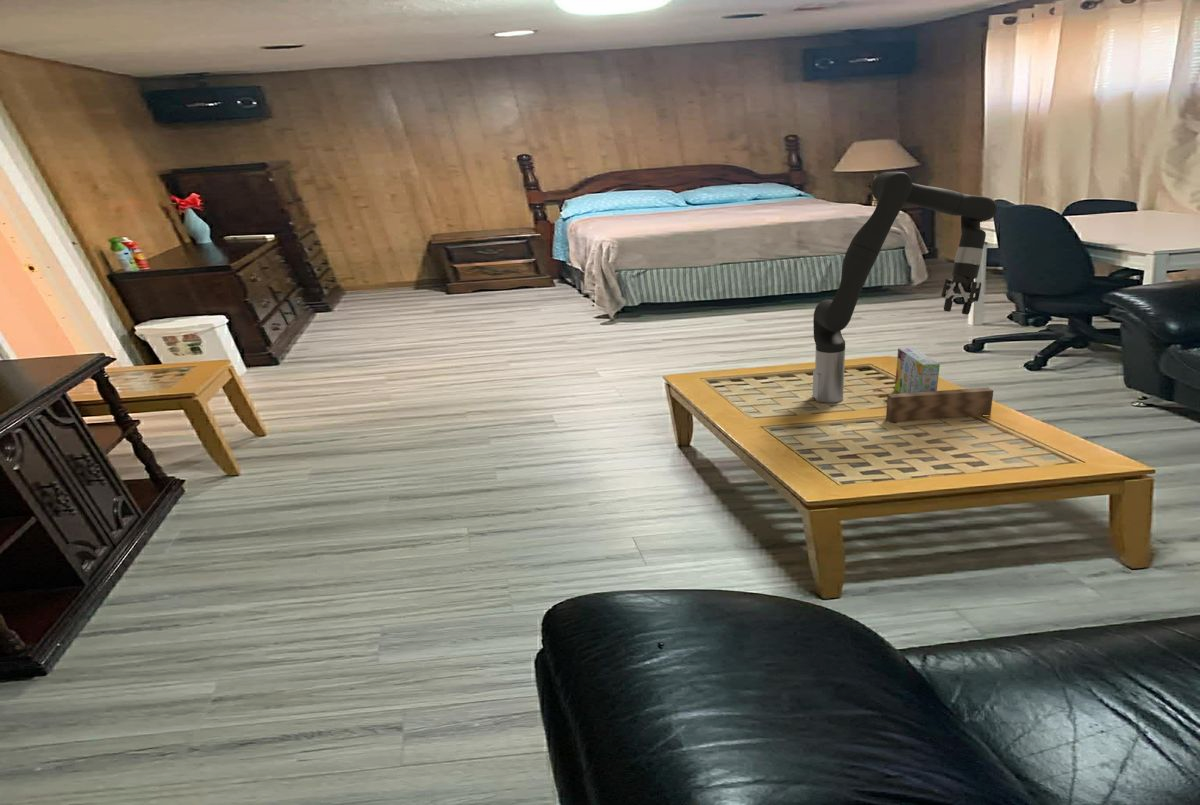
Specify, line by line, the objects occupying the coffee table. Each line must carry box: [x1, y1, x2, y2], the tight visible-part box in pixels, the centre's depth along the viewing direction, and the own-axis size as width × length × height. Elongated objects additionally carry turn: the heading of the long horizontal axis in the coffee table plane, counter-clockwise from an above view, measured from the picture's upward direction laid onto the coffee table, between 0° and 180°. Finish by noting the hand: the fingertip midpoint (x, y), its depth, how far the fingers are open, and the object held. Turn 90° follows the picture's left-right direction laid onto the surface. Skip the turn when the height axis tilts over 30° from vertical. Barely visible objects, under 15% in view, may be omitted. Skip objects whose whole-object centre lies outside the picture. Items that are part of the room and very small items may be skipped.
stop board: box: [885, 386, 994, 423], centre depth 207 cm, size 30×3×8 cm, turn 90°
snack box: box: [894, 346, 941, 394], centre depth 221 cm, size 21×6×15 cm, turn 179°
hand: (955, 312), depth 223 cm, fingers open, 8 cm apart
